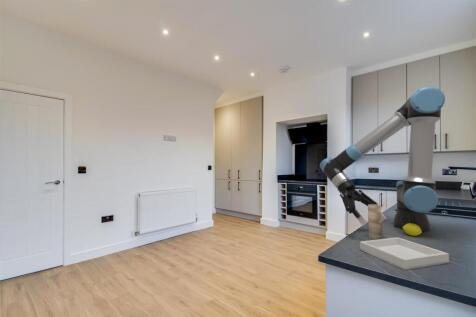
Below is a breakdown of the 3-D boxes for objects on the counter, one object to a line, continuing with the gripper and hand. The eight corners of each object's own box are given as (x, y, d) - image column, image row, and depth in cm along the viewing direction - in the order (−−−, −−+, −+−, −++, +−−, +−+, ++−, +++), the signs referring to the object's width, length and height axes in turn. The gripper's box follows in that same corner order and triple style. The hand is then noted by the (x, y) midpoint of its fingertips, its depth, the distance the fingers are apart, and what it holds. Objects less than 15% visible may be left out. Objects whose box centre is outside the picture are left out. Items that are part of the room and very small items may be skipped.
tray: (398, 245, 95) (397, 237, 95) (449, 263, 77) (448, 253, 78) (359, 249, 90) (359, 241, 90) (405, 270, 73) (404, 260, 73)
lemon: (421, 236, 107) (423, 224, 107) (420, 239, 103) (422, 227, 103) (402, 231, 112) (404, 220, 111) (400, 234, 108) (402, 222, 107)
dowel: (375, 235, 107) (374, 203, 108) (384, 239, 102) (384, 205, 103) (366, 236, 106) (365, 204, 106) (375, 240, 101) (374, 206, 101)
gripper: (354, 187, 126) (385, 222, 112) (321, 190, 113) (351, 230, 100) (364, 178, 121) (397, 213, 108) (330, 180, 109) (363, 220, 95)
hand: (375, 221), depth 104 cm, fingers open, 13 cm apart
